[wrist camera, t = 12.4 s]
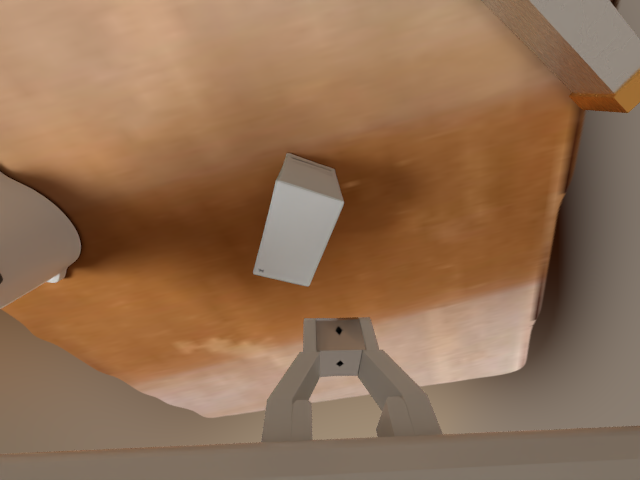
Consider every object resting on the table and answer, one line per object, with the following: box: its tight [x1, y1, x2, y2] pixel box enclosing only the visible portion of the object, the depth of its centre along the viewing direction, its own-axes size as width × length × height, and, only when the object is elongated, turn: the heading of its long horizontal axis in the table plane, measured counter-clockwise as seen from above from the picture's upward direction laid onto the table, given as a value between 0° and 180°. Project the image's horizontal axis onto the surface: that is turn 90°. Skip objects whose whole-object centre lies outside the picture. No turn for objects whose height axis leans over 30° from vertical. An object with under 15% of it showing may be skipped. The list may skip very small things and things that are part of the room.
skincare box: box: [253, 153, 344, 286], centre depth 27 cm, size 10×6×10 cm, turn 161°
